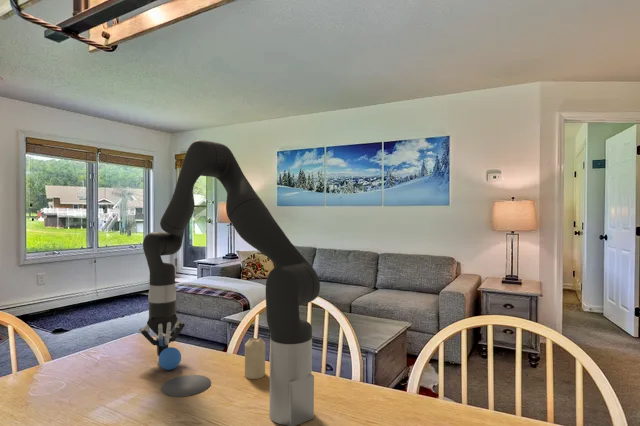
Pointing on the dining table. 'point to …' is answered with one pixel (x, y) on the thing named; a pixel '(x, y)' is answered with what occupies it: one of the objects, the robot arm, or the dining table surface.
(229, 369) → the dining table surface
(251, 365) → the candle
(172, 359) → the ball
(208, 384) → the disc
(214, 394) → the dining table surface
